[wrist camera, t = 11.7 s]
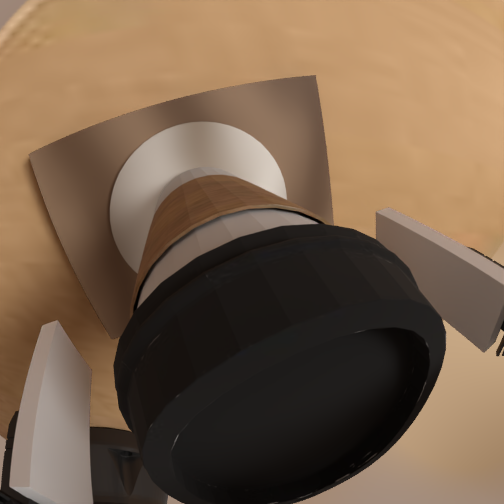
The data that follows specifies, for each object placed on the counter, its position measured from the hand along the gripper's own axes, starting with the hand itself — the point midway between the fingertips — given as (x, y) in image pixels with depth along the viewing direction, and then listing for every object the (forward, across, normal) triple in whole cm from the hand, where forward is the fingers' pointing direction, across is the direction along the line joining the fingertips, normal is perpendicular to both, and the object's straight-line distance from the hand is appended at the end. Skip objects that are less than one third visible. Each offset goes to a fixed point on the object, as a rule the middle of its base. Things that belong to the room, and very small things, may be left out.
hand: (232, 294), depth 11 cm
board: (+10, 0, 0) cm, 10 cm away
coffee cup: (+8, +1, 0) cm, 8 cm away
